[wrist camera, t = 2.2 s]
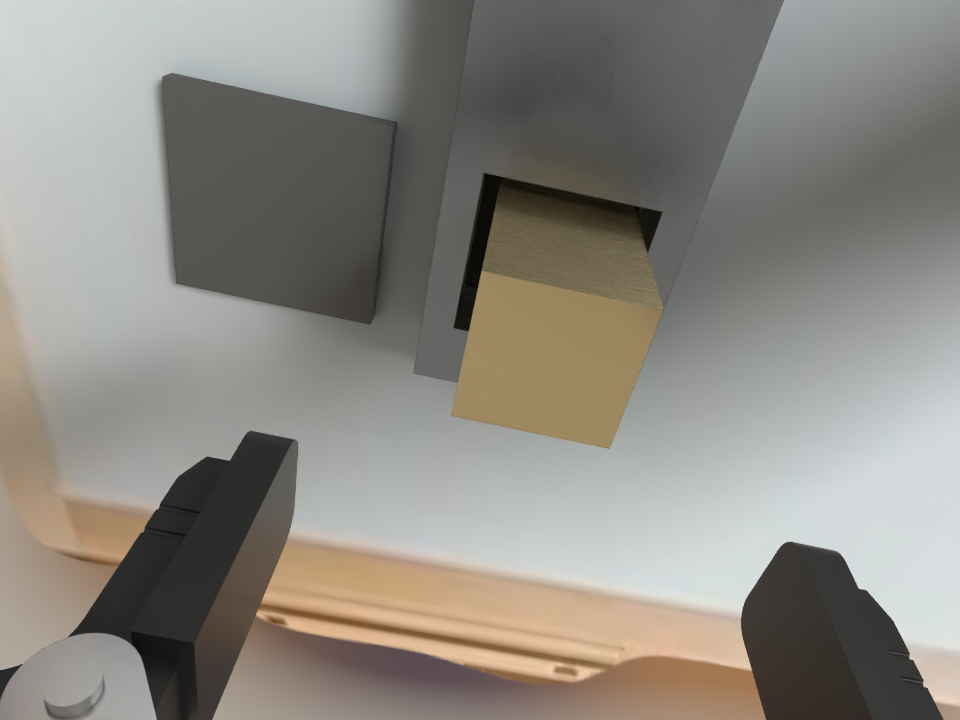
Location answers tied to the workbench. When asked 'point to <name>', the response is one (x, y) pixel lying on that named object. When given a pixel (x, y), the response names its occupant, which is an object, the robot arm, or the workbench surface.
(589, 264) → the tan wooden beam
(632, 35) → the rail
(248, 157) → the pad
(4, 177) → the workbench surface
